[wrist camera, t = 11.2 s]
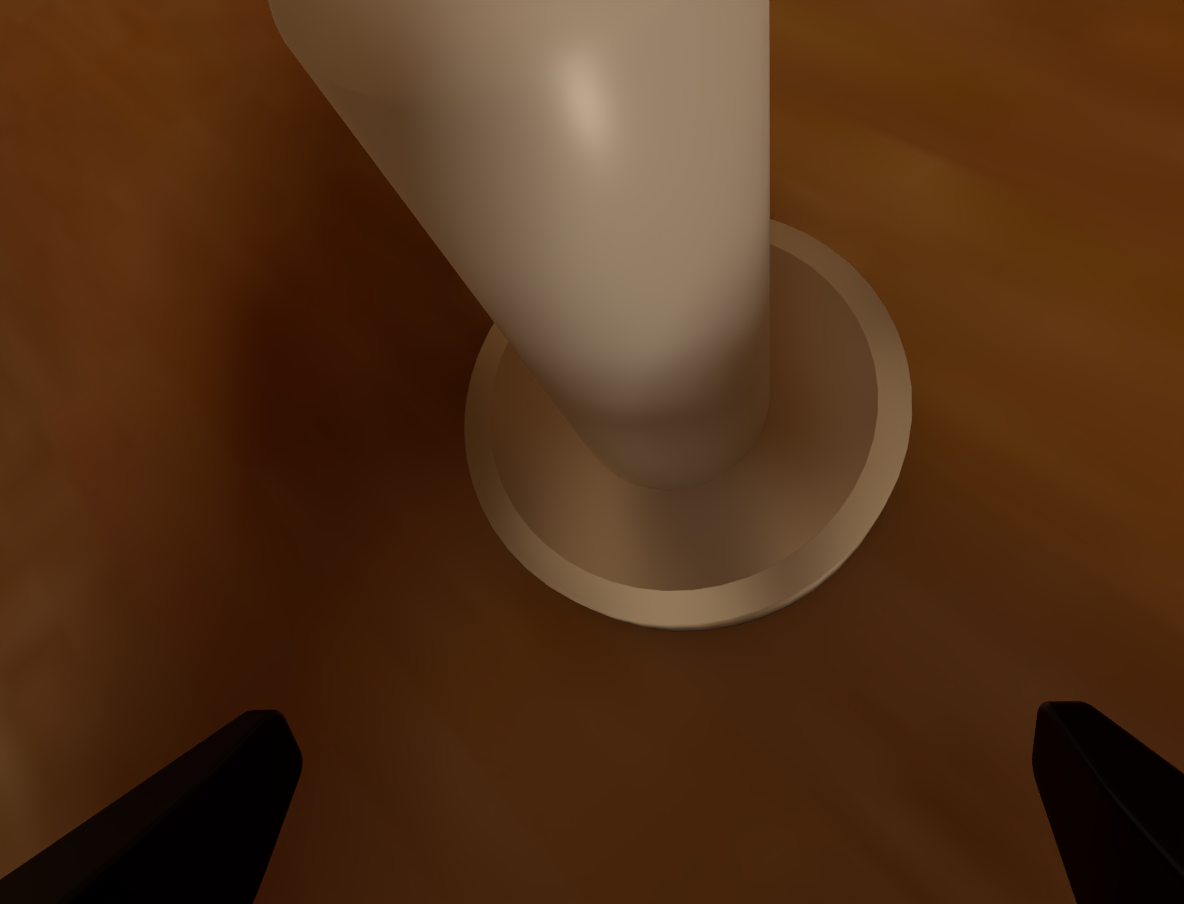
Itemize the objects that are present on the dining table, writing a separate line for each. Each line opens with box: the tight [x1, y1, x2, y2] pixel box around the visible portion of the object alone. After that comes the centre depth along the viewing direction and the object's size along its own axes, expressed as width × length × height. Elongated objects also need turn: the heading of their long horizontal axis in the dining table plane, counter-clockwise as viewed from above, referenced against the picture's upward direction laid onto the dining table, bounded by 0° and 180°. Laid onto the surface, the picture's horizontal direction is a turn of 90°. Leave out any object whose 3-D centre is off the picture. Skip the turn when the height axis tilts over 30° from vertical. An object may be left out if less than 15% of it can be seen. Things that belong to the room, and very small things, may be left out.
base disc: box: [464, 219, 912, 631], centre depth 20 cm, size 12×12×2 cm
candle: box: [268, 0, 770, 490], centre depth 13 cm, size 5×5×14 cm
